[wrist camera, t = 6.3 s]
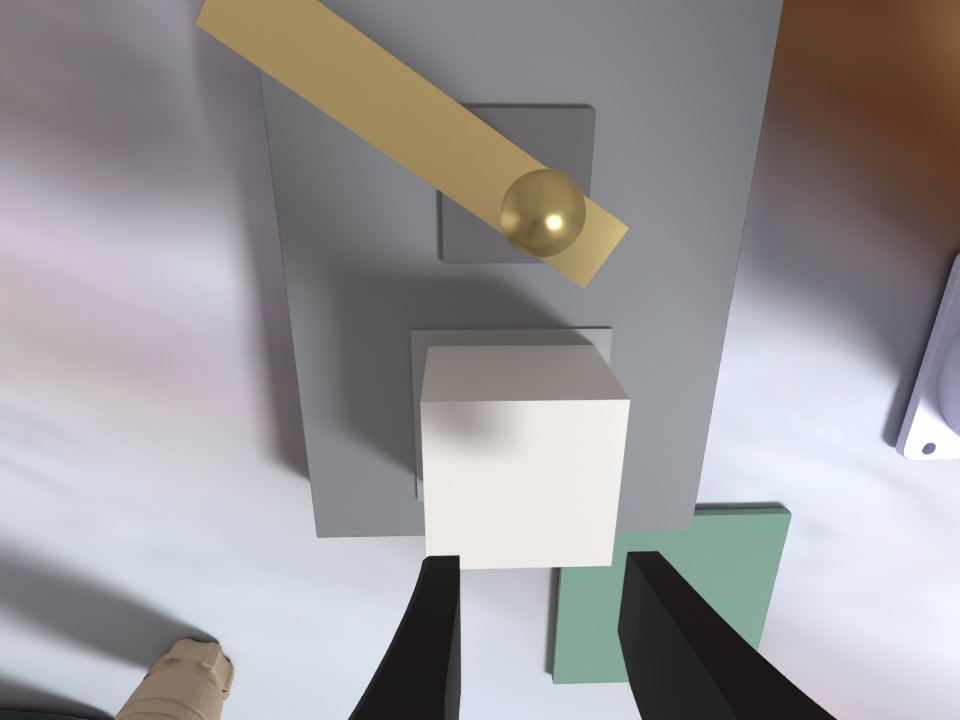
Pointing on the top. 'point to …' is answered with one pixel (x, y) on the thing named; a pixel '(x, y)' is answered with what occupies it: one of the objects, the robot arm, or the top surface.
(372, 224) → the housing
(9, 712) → the coffee jar
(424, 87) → the brass lever handle
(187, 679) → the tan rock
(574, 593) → the mat
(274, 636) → the top surface
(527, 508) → the white square block
